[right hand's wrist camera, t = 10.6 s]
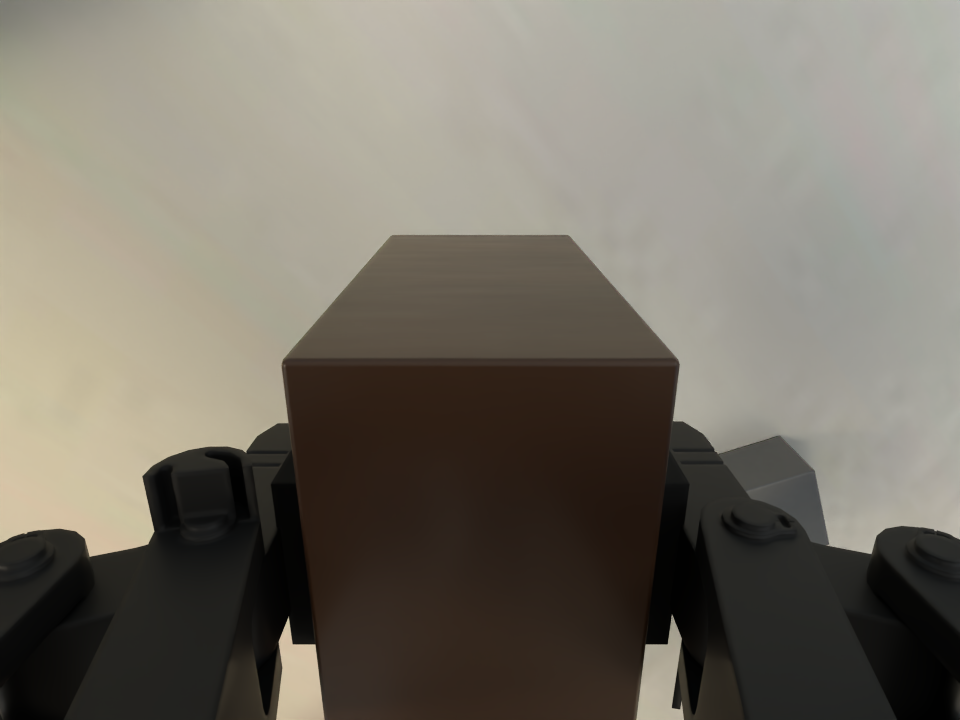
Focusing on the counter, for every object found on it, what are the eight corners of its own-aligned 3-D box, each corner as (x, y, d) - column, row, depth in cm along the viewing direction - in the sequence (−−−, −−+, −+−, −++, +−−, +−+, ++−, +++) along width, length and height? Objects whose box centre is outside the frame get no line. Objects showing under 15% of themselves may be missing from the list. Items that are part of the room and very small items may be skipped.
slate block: (714, 527, 38) (739, 570, 34) (696, 460, 36) (720, 498, 32) (794, 503, 37) (830, 545, 33) (779, 434, 36) (815, 470, 32)
